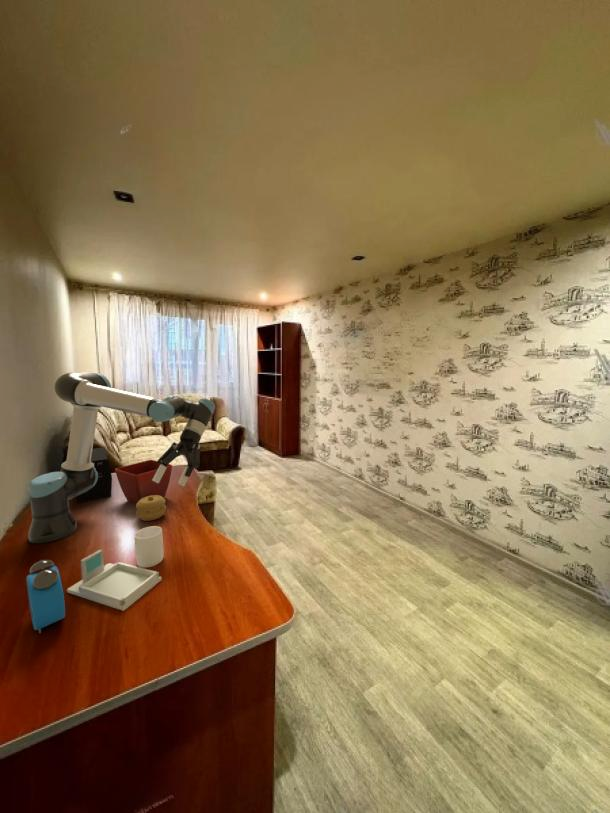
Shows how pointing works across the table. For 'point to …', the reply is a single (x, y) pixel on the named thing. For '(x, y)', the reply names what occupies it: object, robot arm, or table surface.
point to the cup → (149, 546)
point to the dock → (113, 582)
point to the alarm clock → (45, 594)
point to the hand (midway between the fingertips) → (167, 483)
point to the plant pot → (142, 480)
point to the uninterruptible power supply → (99, 478)
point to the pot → (151, 507)
